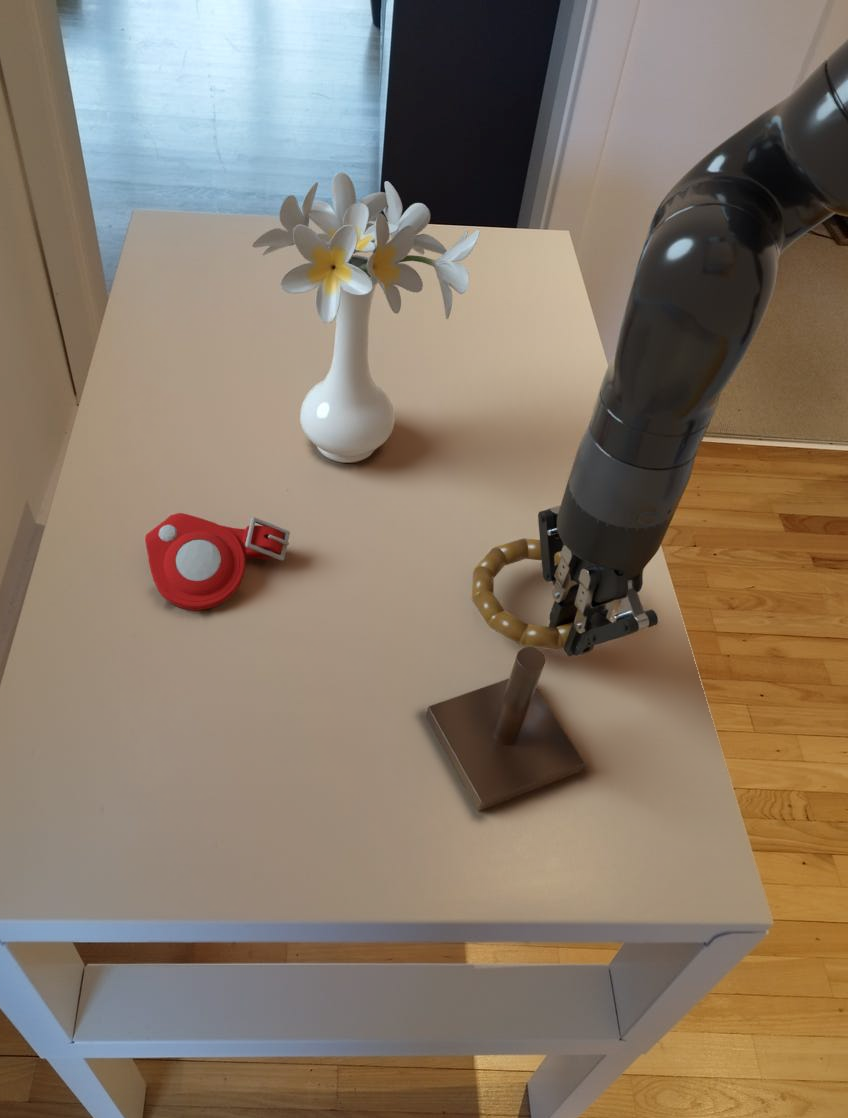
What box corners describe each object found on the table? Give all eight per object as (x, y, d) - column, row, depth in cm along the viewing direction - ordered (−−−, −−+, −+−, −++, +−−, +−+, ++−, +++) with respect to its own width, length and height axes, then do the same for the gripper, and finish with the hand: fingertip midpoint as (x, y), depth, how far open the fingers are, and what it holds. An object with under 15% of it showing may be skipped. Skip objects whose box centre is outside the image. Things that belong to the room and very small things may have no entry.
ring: (560, 535, 83) (564, 521, 82) (632, 627, 77) (638, 614, 75) (447, 570, 80) (450, 556, 78) (512, 669, 74) (516, 656, 72)
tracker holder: (194, 625, 75) (115, 543, 77) (200, 641, 80) (125, 563, 81) (301, 534, 78) (223, 457, 80) (301, 554, 83) (227, 481, 84)
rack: (522, 682, 75) (553, 593, 66) (580, 771, 70) (621, 689, 61) (425, 716, 73) (443, 628, 64) (478, 811, 68) (505, 731, 59)
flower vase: (454, 477, 90) (499, 235, 70) (267, 491, 87) (258, 243, 67) (427, 394, 97) (460, 154, 77) (254, 404, 95) (242, 158, 75)
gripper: (731, 539, 59) (652, 689, 73) (615, 412, 67) (563, 570, 80) (636, 571, 57) (573, 719, 71) (526, 435, 65) (488, 593, 78)
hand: (567, 639), depth 76 cm, fingers closed on ring, 2 cm apart
